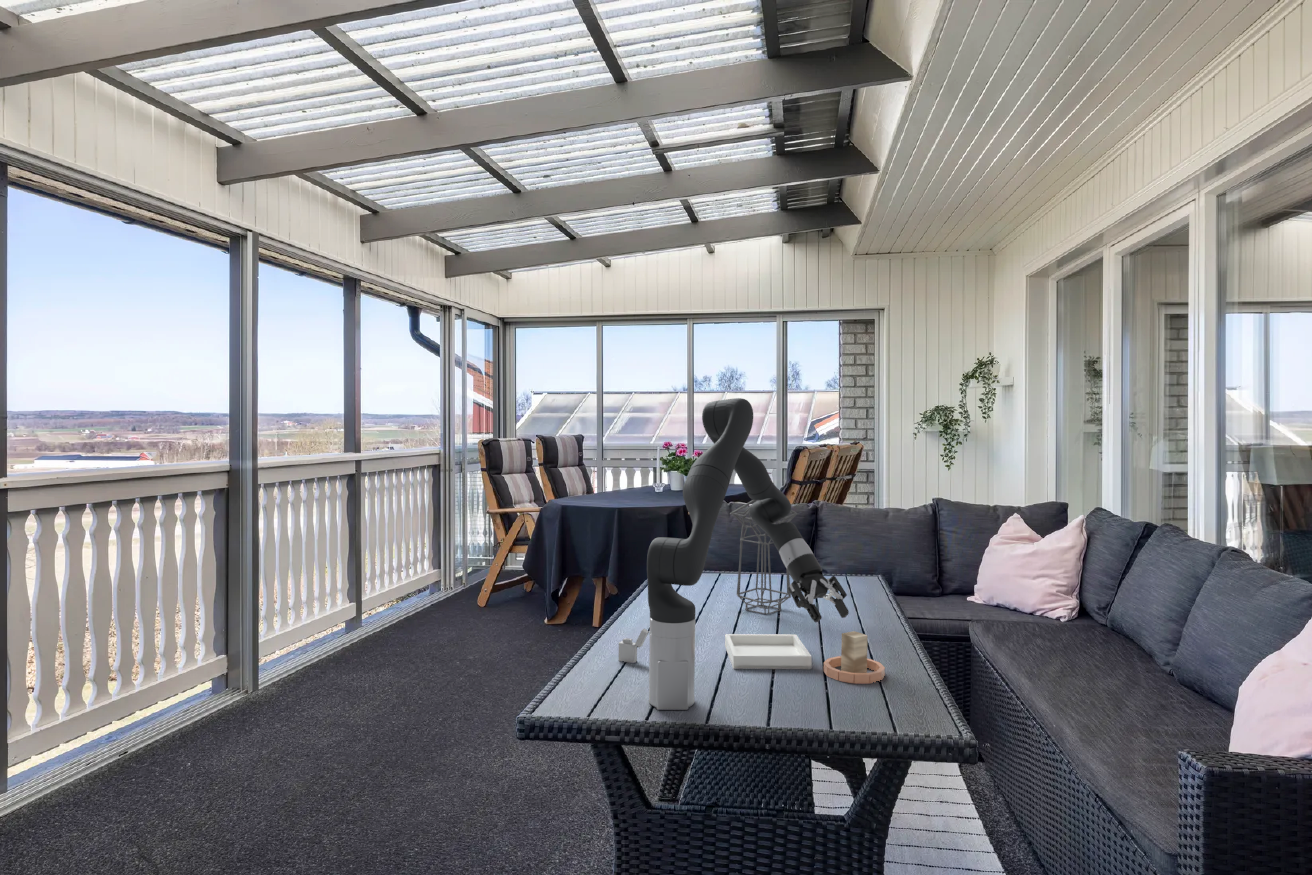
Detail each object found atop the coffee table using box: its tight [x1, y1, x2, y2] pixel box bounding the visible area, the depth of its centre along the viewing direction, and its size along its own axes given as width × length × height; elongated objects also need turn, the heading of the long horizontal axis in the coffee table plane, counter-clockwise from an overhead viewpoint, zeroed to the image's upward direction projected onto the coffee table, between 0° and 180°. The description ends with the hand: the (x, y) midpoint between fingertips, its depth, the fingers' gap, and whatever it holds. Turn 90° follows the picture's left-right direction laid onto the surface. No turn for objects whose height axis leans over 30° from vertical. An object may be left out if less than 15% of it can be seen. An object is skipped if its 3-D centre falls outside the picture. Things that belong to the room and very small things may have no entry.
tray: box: [724, 633, 813, 670], centre depth 188 cm, size 18×18×3 cm
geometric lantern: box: [729, 499, 798, 615], centre depth 233 cm, size 16×16×35 cm
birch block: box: [840, 630, 868, 673], centre depth 176 cm, size 4×4×9 cm
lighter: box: [618, 628, 650, 664], centre depth 183 cm, size 7×2×8 cm, turn 69°
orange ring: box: [823, 655, 886, 685], centre depth 176 cm, size 13×13×2 cm
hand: (832, 618), depth 182 cm, fingers open, 8 cm apart
